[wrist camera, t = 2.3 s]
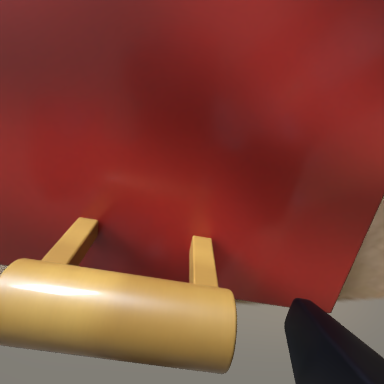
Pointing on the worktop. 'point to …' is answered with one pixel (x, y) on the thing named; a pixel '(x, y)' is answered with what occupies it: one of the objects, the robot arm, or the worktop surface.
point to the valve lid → (181, 168)
